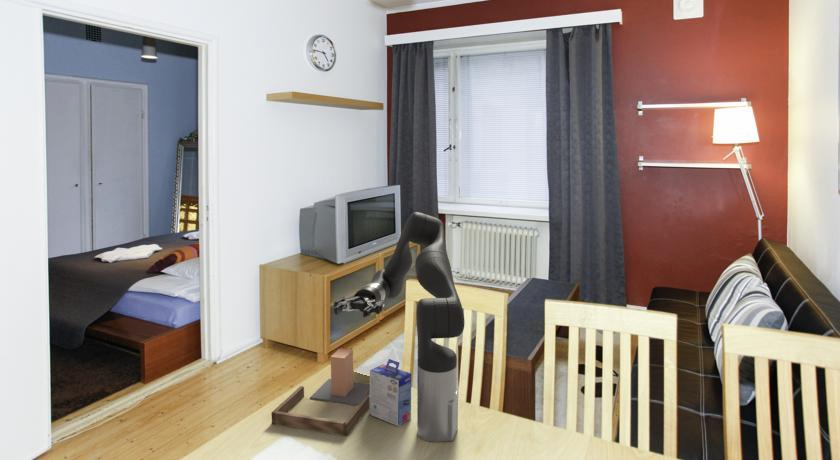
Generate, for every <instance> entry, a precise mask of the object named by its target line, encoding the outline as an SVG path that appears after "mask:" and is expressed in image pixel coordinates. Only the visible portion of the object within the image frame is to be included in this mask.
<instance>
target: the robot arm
mask: <svg viewBox="0 0 840 460" xmlns="http://www.w3.org/2000/svg"><path fill="white" fill-rule="evenodd" d="M445 235H446V234H445V227H444V223H443V221H442V220H441V219H439V218H438V217H435V216H432V215H429V214H425V213H422V212H418V211H415V212H412V213H411V214H410V215H409V217H408V218H407V220H406V221H405V224H404V226H403V228H402V232H401V234H400V236H399V239H398V241H397V244H396V247H395V250H394V252H393V254H392V256H391V257H390V259H389V260H388V262H387V264H386V266H385V267H384V269H379V270H378V271H376V273H375V274H374V275H373V277H372V279H371V282H369V283H368V284H366V285H364V286H363V287H362V288H360V289H359V290H357V291H355V294H354V296H353V297H352V298H347V299H346V296H342V297H339V298H338V299H336V300H334V301H333V313H334V315H336V316H338V315H340V314H341V313H343V312H345V311H346V312H352V311H357V312H358V311H359V312H361V313H362V316H363V318H367V317H369V316H371V315H374V313H375V314H376V315H380V314H382V312H383V311H384V310H385V301H386V299H390V300H392V299H396V298H397V297H398V296H400V294H401V292H402V289H403V287H404V280H405V277H406V276H407V274H408V273H409V271H410V269H411V267H412V265H413V255H412V251H411V248H410V243H413V244H416V245H419V246H423V247H424V248H423V249H422V250H421V251H420V252H419V254H417V257H416V258H415V262H414V263H415V271H416V278H417V282H418V283H419V285H420V286H421V287H422V288H423V289H424V290H425V291H426V292H427V293H428V294H431V296H432V297H433V298H432V297H429V298H428V297H427V298H421V299H419V300H418V301H417V304H416V310H415V311H416V315H415V317H416V333H417V335H416V336H417V372H416V373H417V382H416V383H417V387H416V388H417V393H416V394H417V395H416V396H417V398H416V399H417V401H416V404H417V406H416V407H417V408H416V409H417V410H416V411H417V413H416V414H417V419H416V421H417V422H416V427H417V435H418V436H419V437H420V438H421V439H422V440H425V441H428V442H432V443H440V442H442V443H443V442H446V441H447V442H449V441H450V442H453V441H454V439H455V436H456V433H457V431H458V424H459V392H458V391H457V367H458V366H457V363H458V361H457V360H458V358H457V353H456V352H455V351H454V350H453V349H451V348H449V347H446V346H444V345H441V344H438V343H436V341H433V340H432V339H452V338H453V339H454V338H457V337H460V336H461V335H462V334H463V332H464V329H465V313H464V309H463V304H462V301H461V299H460V297H459V294H458V291H457V289H456V286H455V283H454V277H453V276H454V275H453V273H452V266H451V263H450V259H449V256H448V251H447V246H446V236H445Z"/></svg>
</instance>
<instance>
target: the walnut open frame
mask: <svg viewBox="0 0 840 460" xmlns="http://www.w3.org/2000/svg"><path fill="white" fill-rule="evenodd" d="M304 398H305V386H303V385H300V386H299V387H298V388H296V389H295V391H293V392H292V393H291V394H290V395H289V396H288V397H287V398H286V399H285V400H283V401H282V403H280V404H279V405H278V406H276V408H275V409H273V410H272V411H271V413H270V414H271V424H272V425H277V426H282V427H283V426H284V427H289V428H290V427H291V428H295V429H296V428H297V429H303V430H308V431H315V432H320V433H327V434H332V435H340V436H345V437H347V436H348V435H349V434H350V433H351V431H352V430H353V429H354V428H355V426H356V425H357V424H358V422H359V421H360V420H361V418H362V417H363V416H364V415H365V414H366V412H367V411H368V409H370V395H368V394H367V395H366V396H365V397H364V398H363V399H362V401H361V402H360V403H359V404H358V406H357V405H356V407H355V408H354V409H353V411H352V412H351V413H350V414H349V415H348V417H347V418H346V419H345V420H344V421H342V420H338V419H337V420H336V419H330V418H325V417H324V418H323V417H317V416H311V415H304V414H298V413H293V412H291V413H290V411H291V410H292V409H293V408H295V406H296V405H298V404H299V402H301V400H302V399H304Z"/></svg>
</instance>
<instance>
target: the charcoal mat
mask: <svg viewBox="0 0 840 460" xmlns="http://www.w3.org/2000/svg"><path fill="white" fill-rule="evenodd" d="M353 383H354V387H353V388H352V389H351V391H350V392H349V393H348V394H347V395H346V396H345V397H344V396H337V395H332V390H331V378H328V379H327V380H326V381H325V382H324V383H323V384H322V385H321V386H320V387H319V388H318V389H317V390H316V391H315V392H314V393H312V395H311V396H310V397H309V399H311V400H317V401H323V402H324V401H325V402H329V403H330V402H331V403H338V404H344V405H352V406H356V407H357V406H358V404H359V403H360V402H361V401H362V399H363V398H364V397H365V396H366V395H368V394H370V383H366V382H357V381H353Z"/></svg>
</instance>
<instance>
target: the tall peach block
mask: <svg viewBox="0 0 840 460" xmlns="http://www.w3.org/2000/svg"><path fill="white" fill-rule="evenodd" d="M353 352H354V349H350V348H349V349H347V348H338V349H337V350H336V351H335V352H334V353H333V354H331V356H330V379H331V390H332V395H337V396H344V397H345V396H346V395H347V394H348V393H349V392H350V391H351V389H352V388H353V387H354V383H353V382H354V353H353Z"/></svg>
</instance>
